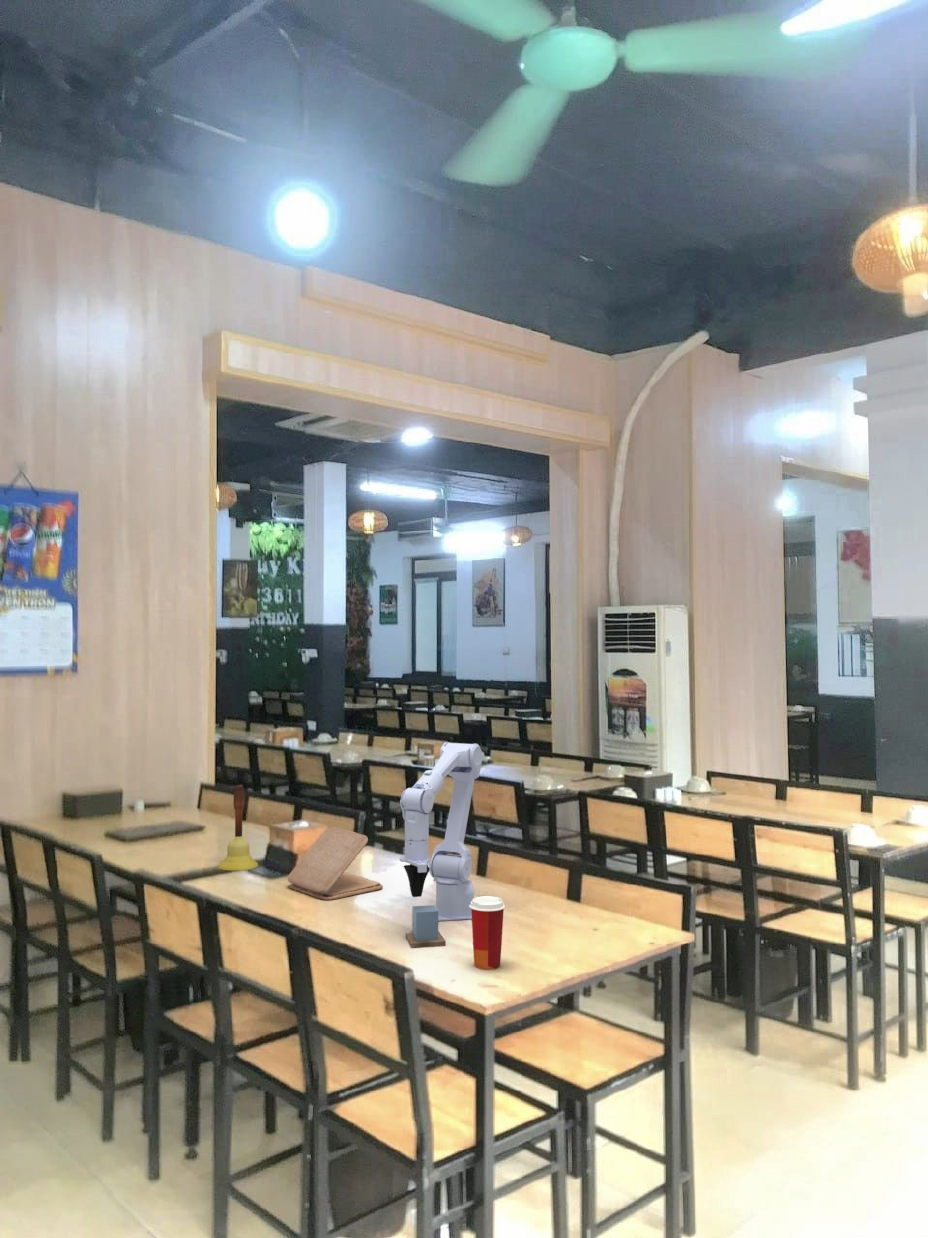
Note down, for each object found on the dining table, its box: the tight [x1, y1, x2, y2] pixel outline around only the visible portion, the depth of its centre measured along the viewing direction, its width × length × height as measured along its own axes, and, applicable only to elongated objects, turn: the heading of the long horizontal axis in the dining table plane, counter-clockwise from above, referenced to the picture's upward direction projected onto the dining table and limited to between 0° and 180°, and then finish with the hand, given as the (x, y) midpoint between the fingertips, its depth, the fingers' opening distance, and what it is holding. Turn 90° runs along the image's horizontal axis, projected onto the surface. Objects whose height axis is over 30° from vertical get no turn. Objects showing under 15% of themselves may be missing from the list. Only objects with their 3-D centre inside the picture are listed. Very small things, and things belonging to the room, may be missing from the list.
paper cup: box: [469, 895, 506, 971], centre depth 208 cm, size 8×8×14 cm
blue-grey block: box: [411, 904, 439, 941], centre depth 224 cm, size 5×5×7 cm
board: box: [405, 930, 447, 949], centre depth 224 cm, size 8×8×1 cm
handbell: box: [217, 784, 259, 871], centre depth 300 cm, size 12×12×25 cm
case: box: [287, 826, 384, 901], centre depth 272 cm, size 20×21×16 cm
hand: (416, 896), depth 229 cm, fingers closed
